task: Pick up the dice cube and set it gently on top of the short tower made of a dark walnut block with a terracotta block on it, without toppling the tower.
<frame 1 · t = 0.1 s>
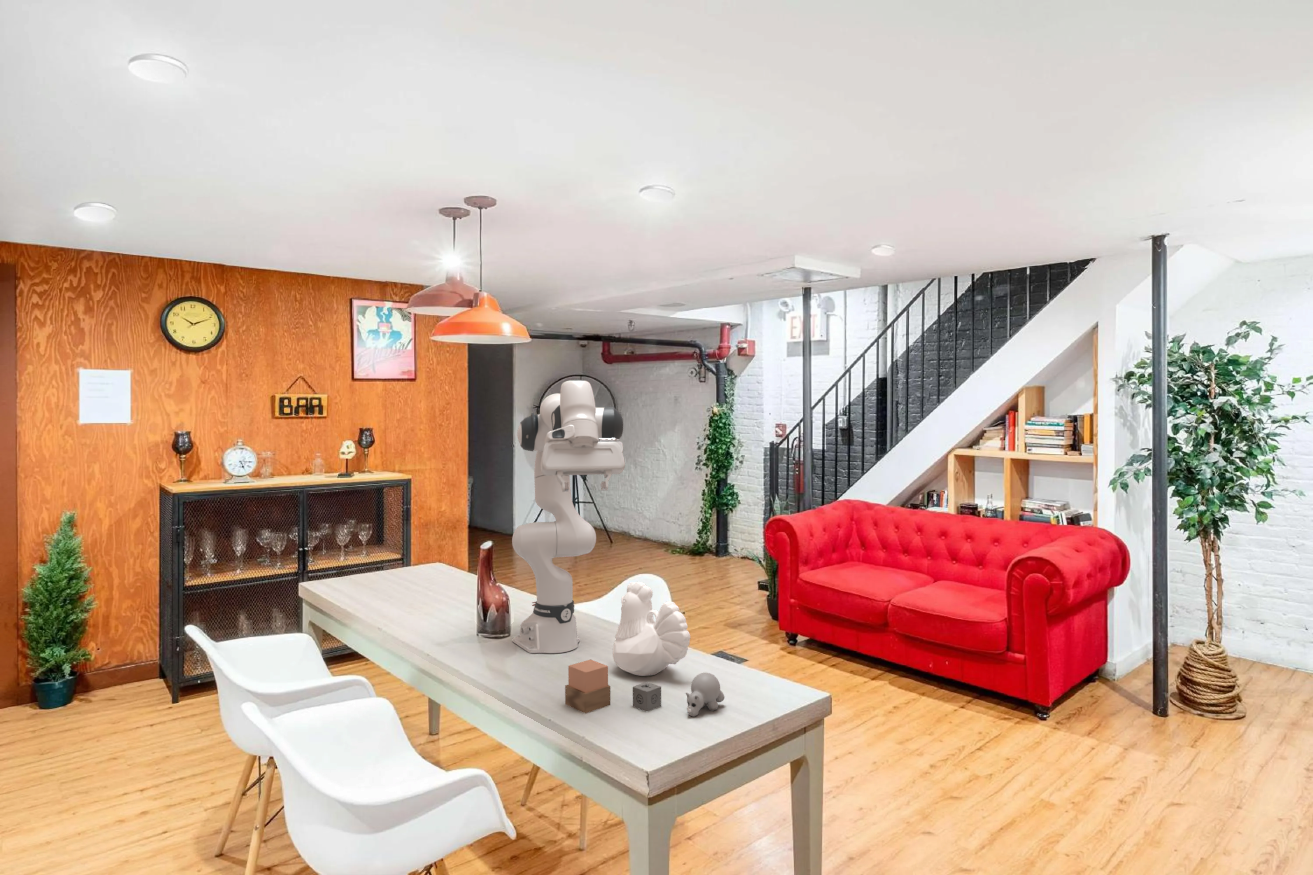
hand: (585, 490, 181), 54 cm above the table, tool tilted 30°, fingers open, 8 cm apart
walnut base block: (587, 705, 190), on the table, touching terracotta top block
dice cube: (646, 707, 189), on the table
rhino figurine: (701, 711, 187), on the table
terracotta top block: (588, 685, 190), point 5 cm above the table, touching walnut base block
decorative rooster: (650, 675, 212), on the table
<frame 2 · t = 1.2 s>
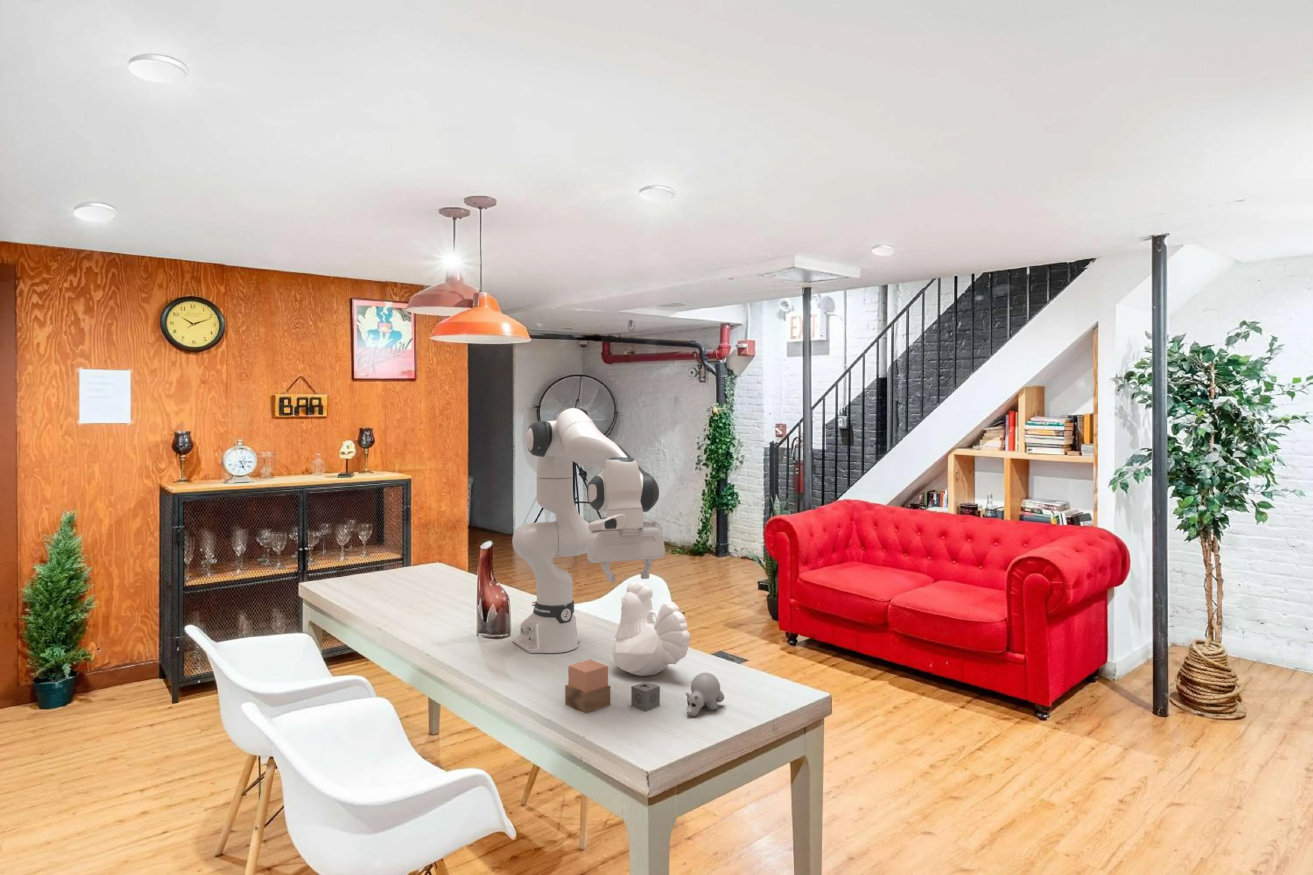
hand: (628, 580, 183), 33 cm above the table, tool pointing down, fingers open, 8 cm apart
nothing on the table moved.
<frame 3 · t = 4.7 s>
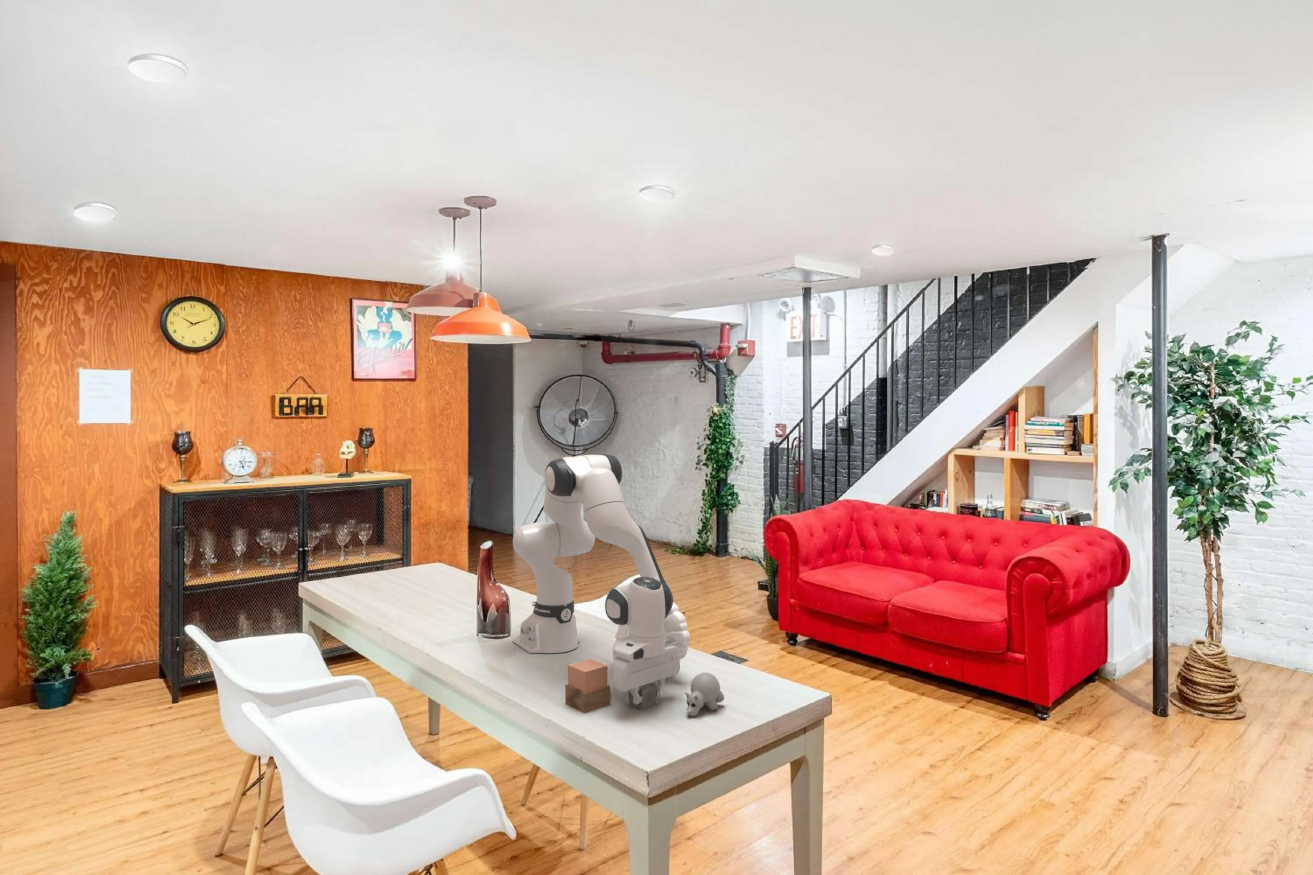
hand: (647, 699, 189), 2 cm above the table, tool pointing down, fingers closed on dice cube, 5 cm apart
dice cube: (642, 705, 190), on the table, touching gripper
everything else where it was.
when the fingers open (12 cm above the table, at t = 11.3 s): dice cube moves 3 cm, resting on terracotta top block.
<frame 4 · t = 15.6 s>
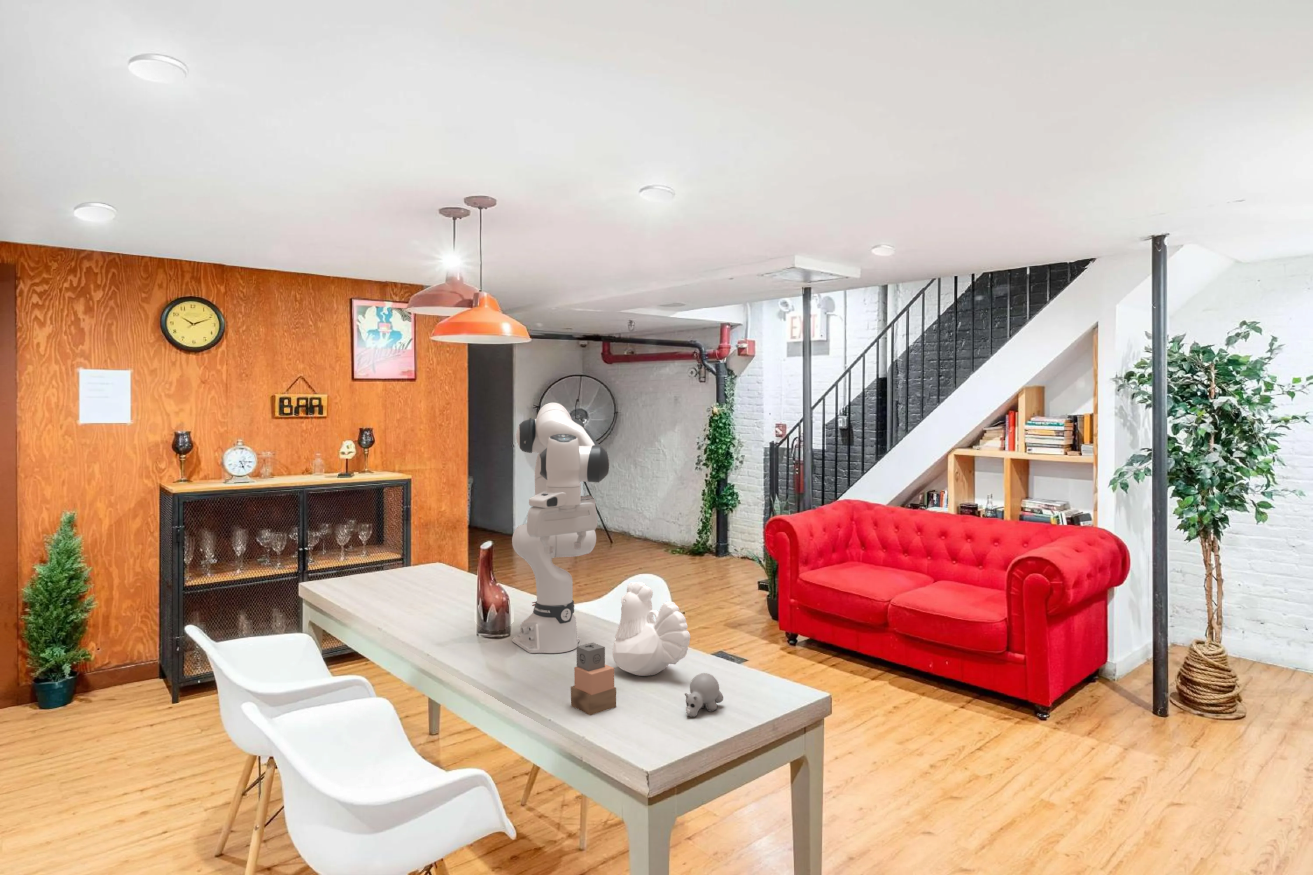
hand: (563, 551, 196), 37 cm above the table, tool pointing down, fingers open, 8 cm apart
walnut base block: (593, 706, 189), on the table, touching terracotta top block
dice cube: (590, 667, 189), point 10 cm above the table, touching terracotta top block
terracotta top block: (594, 687, 188), point 5 cm above the table, touching dice cube, walnut base block
everything else where it was.
at the end: dice cube 1.2 cm off-centre on the terracotta top block, point 4.8 cm above the terracotta top block's base; terracotta top block 0.4 cm off-centre on the walnut base block, point 5.0 cm above the walnut base block's base; the gripper is holding nothing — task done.
